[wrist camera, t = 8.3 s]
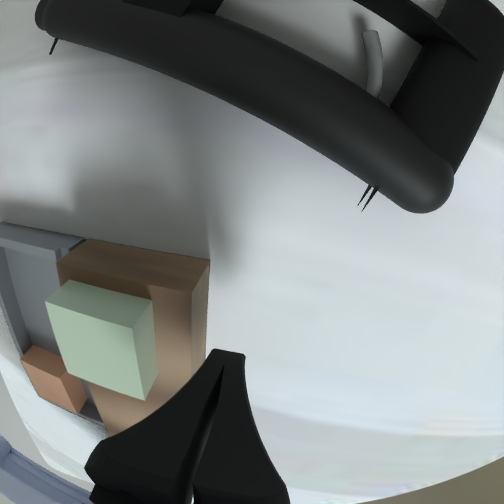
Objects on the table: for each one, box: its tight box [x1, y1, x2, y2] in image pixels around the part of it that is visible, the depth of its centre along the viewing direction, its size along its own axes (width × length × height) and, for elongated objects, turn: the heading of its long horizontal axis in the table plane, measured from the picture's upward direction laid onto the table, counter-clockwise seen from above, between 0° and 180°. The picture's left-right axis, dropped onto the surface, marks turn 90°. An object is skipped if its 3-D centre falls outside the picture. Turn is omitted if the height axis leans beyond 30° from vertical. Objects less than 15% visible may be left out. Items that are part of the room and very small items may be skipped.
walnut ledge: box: [56, 239, 210, 437], centre depth 17 cm, size 16×7×3 cm, turn 173°
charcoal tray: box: [0, 222, 105, 427], centre depth 18 cm, size 16×8×2 cm, turn 173°
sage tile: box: [45, 279, 159, 401], centre depth 13 cm, size 4×4×2 cm
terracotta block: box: [20, 345, 88, 415], centre depth 19 cm, size 4×4×2 cm
